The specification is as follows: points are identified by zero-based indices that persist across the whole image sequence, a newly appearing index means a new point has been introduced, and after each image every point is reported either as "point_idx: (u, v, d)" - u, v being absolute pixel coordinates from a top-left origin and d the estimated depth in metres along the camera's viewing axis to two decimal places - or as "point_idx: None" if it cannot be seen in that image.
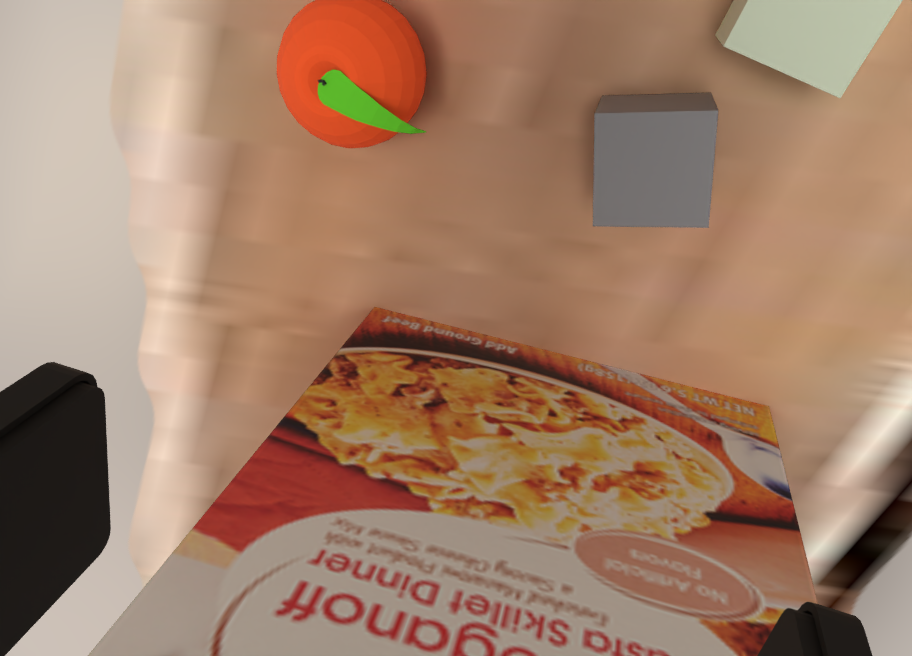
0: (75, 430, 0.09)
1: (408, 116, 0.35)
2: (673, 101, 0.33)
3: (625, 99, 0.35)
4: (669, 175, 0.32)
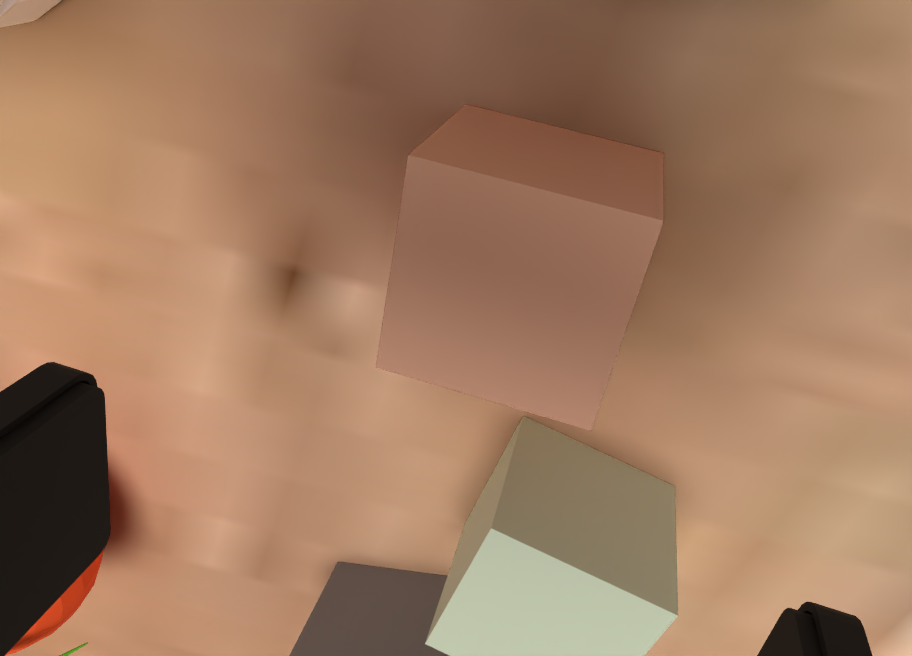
0: (75, 430, 0.09)
1: (67, 617, 0.26)
2: (403, 625, 0.25)
3: (354, 593, 0.26)
4: None
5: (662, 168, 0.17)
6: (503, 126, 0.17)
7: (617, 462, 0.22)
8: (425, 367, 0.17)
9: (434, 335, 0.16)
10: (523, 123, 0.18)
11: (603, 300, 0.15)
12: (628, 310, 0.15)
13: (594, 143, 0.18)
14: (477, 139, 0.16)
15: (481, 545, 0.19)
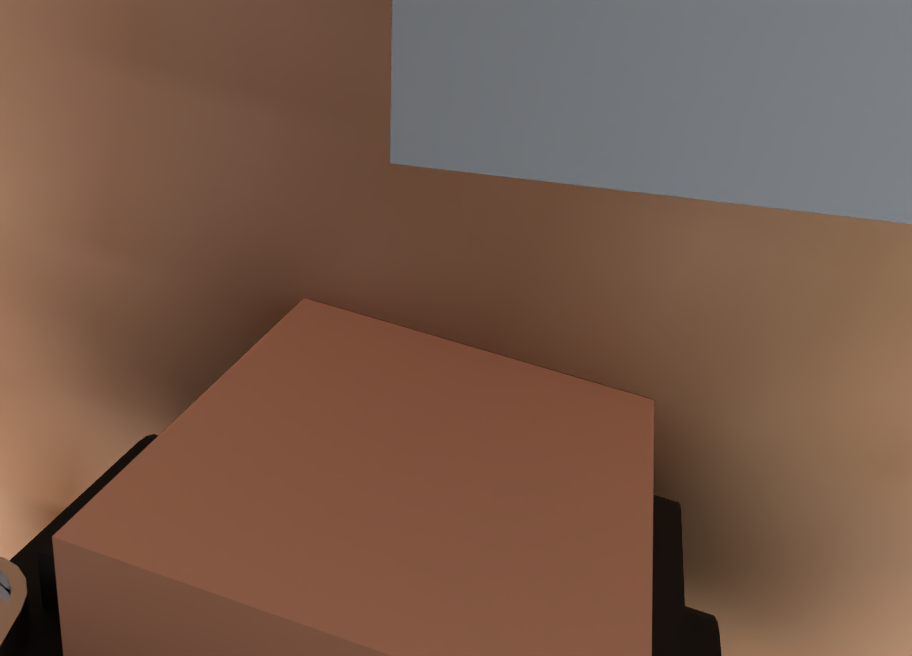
0: None
1: None
2: None
3: None
4: None
5: (651, 464, 0.09)
6: (351, 363, 0.09)
7: None
8: None
9: None
10: (396, 346, 0.10)
11: None
12: None
13: (524, 393, 0.09)
14: (273, 425, 0.08)
15: None
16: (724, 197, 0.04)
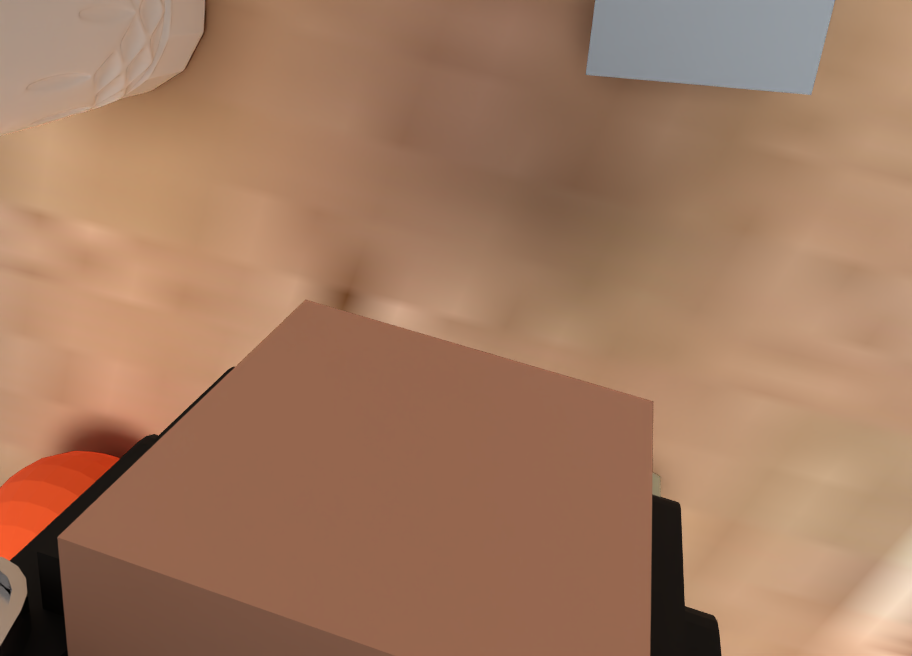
0: None
1: None
2: None
3: None
4: None
5: (650, 465, 0.09)
6: (353, 365, 0.09)
7: None
8: None
9: None
10: (397, 348, 0.10)
11: None
12: None
13: (524, 394, 0.09)
14: (274, 427, 0.08)
15: None
16: (663, 81, 0.17)
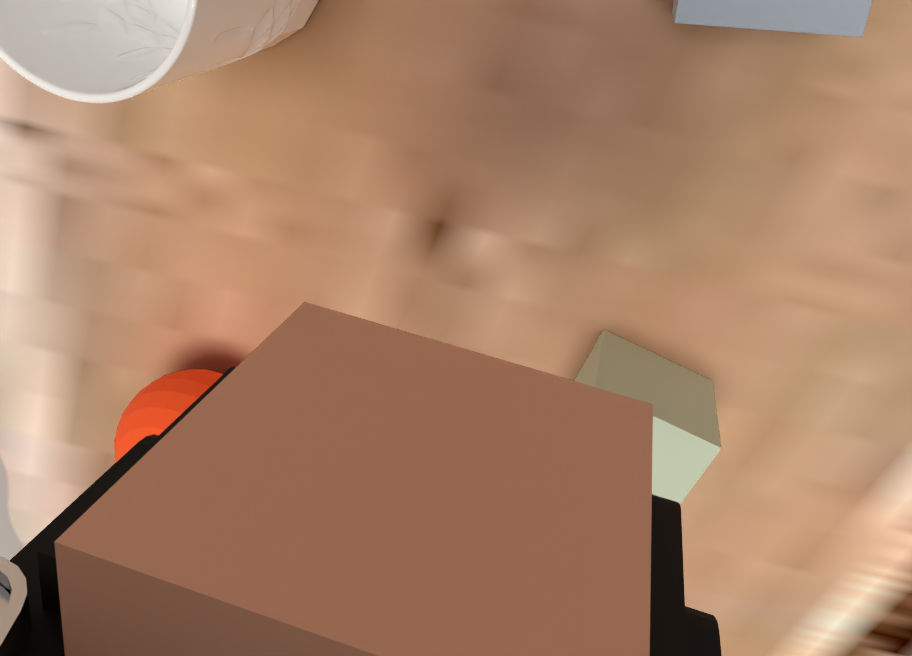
0: None
1: None
2: None
3: None
4: None
5: (649, 468, 0.09)
6: (352, 368, 0.09)
7: (671, 363, 0.31)
8: None
9: None
10: (397, 350, 0.10)
11: None
12: None
13: (524, 397, 0.09)
14: (272, 430, 0.08)
15: None
16: (739, 27, 0.21)
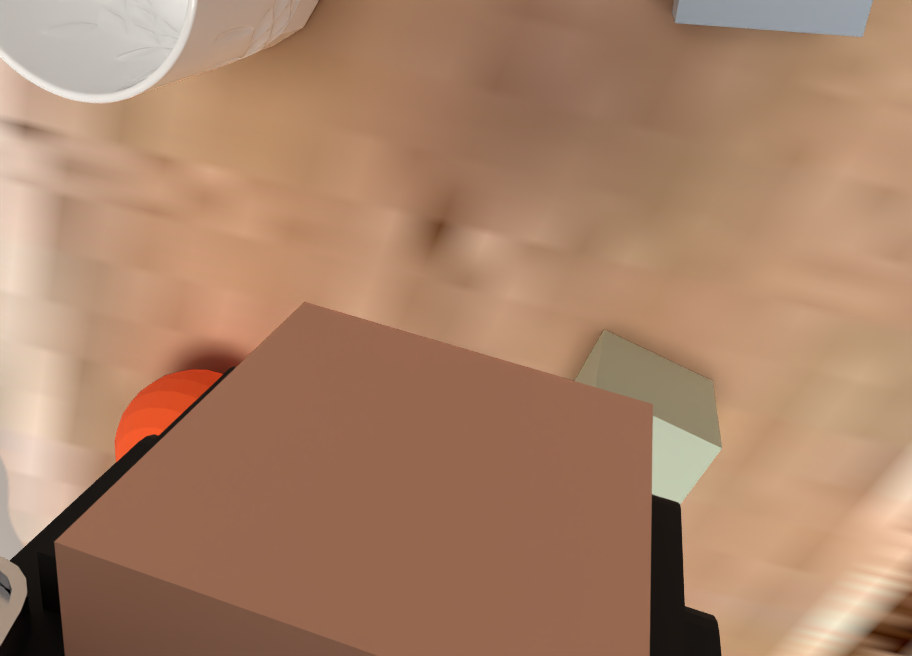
0: None
1: None
2: None
3: None
4: None
5: (649, 468, 0.09)
6: (352, 368, 0.09)
7: (672, 363, 0.31)
8: None
9: None
10: (397, 350, 0.10)
11: None
12: None
13: (523, 397, 0.09)
14: (273, 430, 0.08)
15: None
16: (739, 27, 0.21)
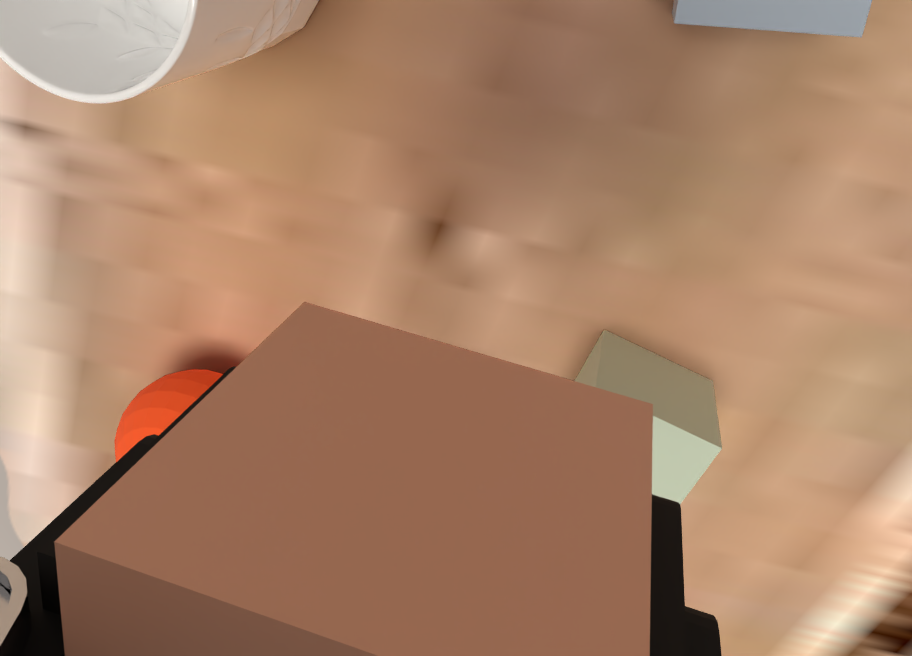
0: None
1: None
2: None
3: None
4: None
5: (649, 468, 0.09)
6: (352, 368, 0.09)
7: (672, 363, 0.31)
8: None
9: None
10: (397, 350, 0.10)
11: None
12: None
13: (523, 397, 0.09)
14: (273, 430, 0.08)
15: None
16: (739, 27, 0.21)
